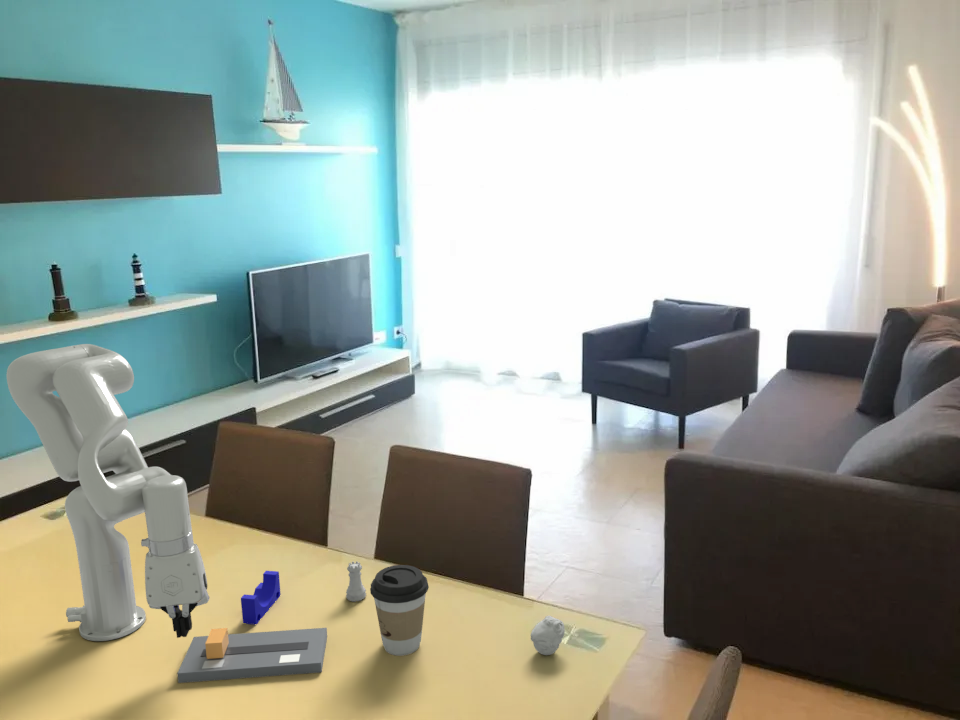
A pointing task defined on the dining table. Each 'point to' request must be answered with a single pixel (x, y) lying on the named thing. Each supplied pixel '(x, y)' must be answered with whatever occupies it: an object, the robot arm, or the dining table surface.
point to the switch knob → (217, 643)
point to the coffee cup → (400, 607)
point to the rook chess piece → (355, 583)
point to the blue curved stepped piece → (261, 598)
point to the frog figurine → (548, 635)
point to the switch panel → (257, 656)
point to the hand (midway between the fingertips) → (183, 633)
